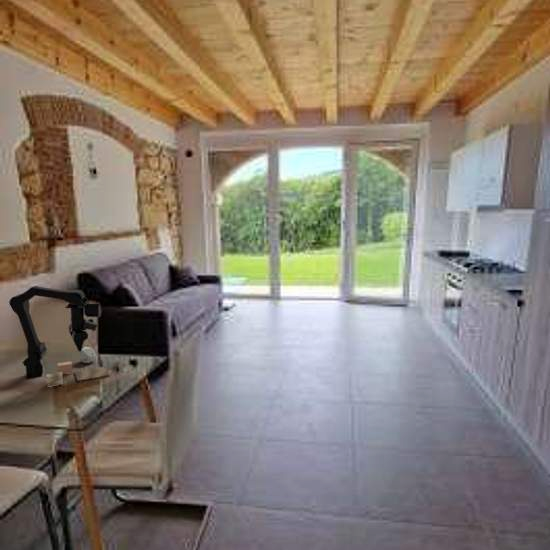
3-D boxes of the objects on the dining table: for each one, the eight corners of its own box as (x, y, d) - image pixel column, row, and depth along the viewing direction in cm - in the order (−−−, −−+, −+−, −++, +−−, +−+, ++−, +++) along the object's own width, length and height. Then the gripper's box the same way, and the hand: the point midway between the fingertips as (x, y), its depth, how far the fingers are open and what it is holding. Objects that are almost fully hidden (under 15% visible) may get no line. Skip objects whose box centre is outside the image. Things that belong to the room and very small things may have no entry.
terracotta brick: (58, 375, 197) (57, 366, 196) (58, 373, 201) (57, 363, 200) (72, 373, 200) (71, 363, 200) (71, 370, 204) (71, 361, 203)
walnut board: (77, 381, 191) (77, 380, 190) (74, 373, 201) (74, 371, 201) (109, 376, 198) (109, 374, 198) (105, 368, 208) (105, 366, 208)
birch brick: (47, 388, 184) (47, 377, 183) (47, 384, 187) (46, 374, 186) (62, 385, 187) (62, 375, 186) (62, 382, 190) (61, 372, 189)
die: (78, 367, 210) (90, 353, 209) (70, 356, 213) (81, 341, 213) (91, 368, 217) (102, 354, 216) (83, 357, 221) (94, 343, 220)
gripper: (99, 319, 193) (100, 351, 195) (92, 311, 209) (93, 340, 211) (73, 322, 187) (74, 355, 189) (67, 313, 203) (68, 343, 205)
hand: (78, 348), depth 199 cm, fingers open, 9 cm apart
